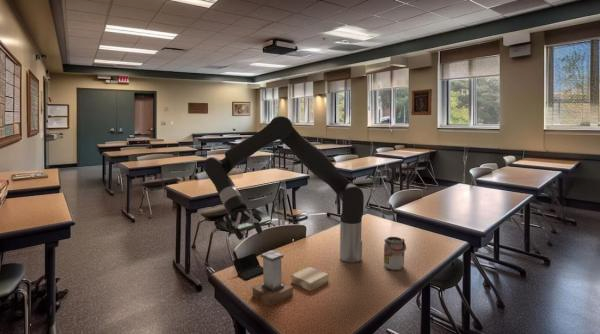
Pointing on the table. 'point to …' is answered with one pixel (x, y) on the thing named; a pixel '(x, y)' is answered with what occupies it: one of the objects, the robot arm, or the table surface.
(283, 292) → the stand
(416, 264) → the table surface
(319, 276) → the stand
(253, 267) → the handheld gaming console
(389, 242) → the beverage can
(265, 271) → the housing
